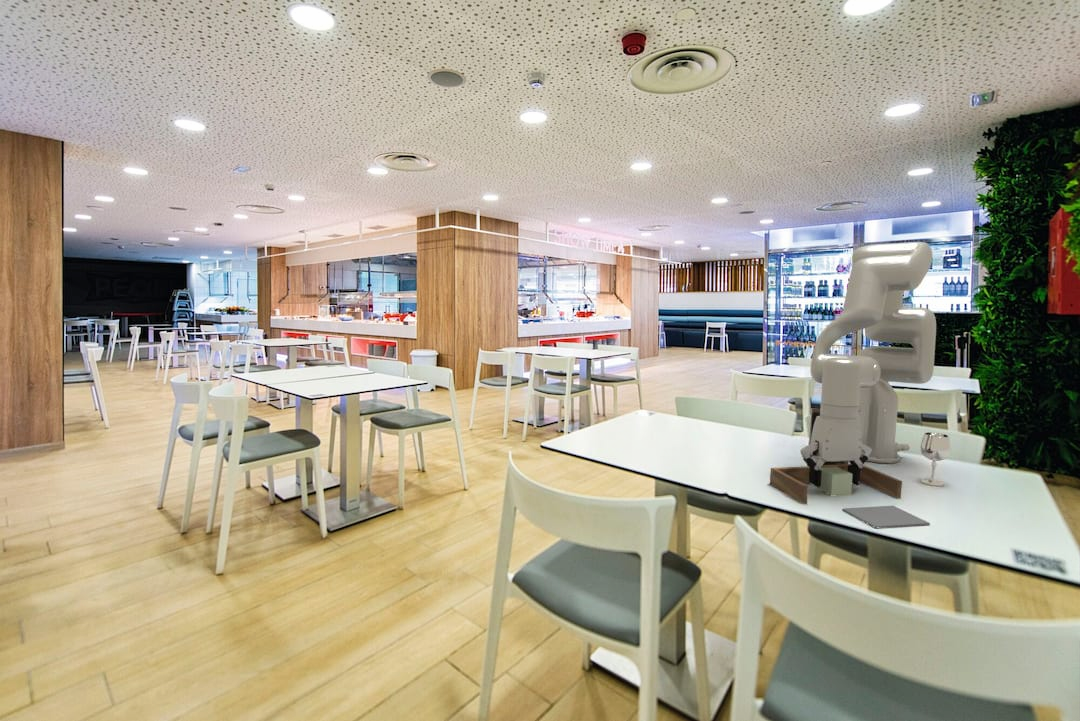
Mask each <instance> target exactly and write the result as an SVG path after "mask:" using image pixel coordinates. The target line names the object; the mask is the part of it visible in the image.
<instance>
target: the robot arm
mask: <svg viewBox="0 0 1080 721" xmlns="http://www.w3.org/2000/svg"><path fill="white" fill-rule="evenodd" d="M932 262H933V250H932V248H931V246H930V244H928V242H924V241H911V242H897V243H896V242H895V243H893V242H892V243H877V244H876V243H875V244H868V245H865V246H864V245H863V246H860V247H857V248H856V249H855V250H854V251H853V252H852V255H851V263H852V268H851V270H850V274H849V279H848V284H847V289H846V293H845V298H844V302H843V306H842V307H843V308H842V313H841V314H840V315H839V316H838V317H836V318H835V319H833V320H832V321H831V322H830V323H828V325H827V326H826V327H825V328H824V329H823V330H822V331H821V332H820V334H819V335H818V337H817V338H816V341H815V344H814V348H813V352H812V357H811V361H810V376H811V378H812V379H813V381H815V382H816V383H818V384H821V394H820V395H821V396H820V408H819V409H820V416H817V417H816V420H815V423H814V426H813V431H812V436H811V443H810V445H809V444H808V445H807V446H805V447H803V448H801V449H800V455H801V457H802V460H803V462H805V464H806V466H809V467H810V470H809V482H810V483H809V484H811V485H813V486H814V487H816V488H817V487H820V486H821V475H822V471H821V470H819V469H820V467H821V466H822V465H823V464H824V463H825V462H839V461H849V464H851V465H848V470H847V472H849V473H852V474H853V475H852V485H854V486H859V485H860V481H859V479H860V468H863V466H864V465H865V463H866V462H872V463H879V464H895V463H899V462H901V455H900V454H898V453H899V452H901V451H902V452H907V451H909V450H911V449H910V445H909V444H908V443H900V444H899V443H898V442H896V434H897V421H898V409H899V397H898V394H897V392H896V390H895V389H894V388H893V386H892V385H891V384H890V383H902V384H903V383H904V384H919V385H920V384H921V385H922V384H926V383H928V382H929V381H931V379H932V377H933V374H934V368H935V367H934V366H935V354H936V353H935V351H936V338H937V337H936V336H937V321H936V320H937V319H936V316H935V313H934V312H933V311H932V309H931V310H930V309H929V308H925V307H905V306H904V305H903V303H904V291H907V292H909V291H913V290H916V289H917V288H919V286H920V285H921V284H922V282H923V281H924V278H925V277H926V275H927V273H929V270H930V268H931V266H932ZM861 330H864V334H865V336H866V338H867V339H868V340H870V341H874V342H880V343H882V342H883V343H895V344H896V343H897V344H898V343H899V344H901V343H902V344H910V345H911V346H912V347H900V346H899V347H897V346H886V345H885V346H884V345H883V346H879V345H877V346H876V345H874V346H873V345H872V346H867V347H865V348H862V349H861V350H860V351H859V352H858V354H857V355H856V354H855V355H853V354H843V353H842V354H841V353H840V354H839V353H830V351H831V348H832V346H833V345H834V344H835V343H836V342H837V341H839V340H840V339H841V338H843V337H845V336H847V335H850V334H852V333H855V332H858V331H861ZM810 455H811V456H813V457H812V458H811V457H810ZM817 460H818V461H817Z"/></svg>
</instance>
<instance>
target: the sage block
mask: <svg viewBox="0 0 1080 721" xmlns="http://www.w3.org/2000/svg"><path fill="white" fill-rule="evenodd" d="M819 470H821V471H822V475H821V486H820V487H816V489H817V488H818V489H817V490H819V489H820V490H819V491H821V490H822V491H821V492H823V491H824V492H823V493H825V492H826V493H825V494H827V493H828V494H827V495H829V496H831V495H832V496H831V497H833V495H837V496H852V489H853V488H852V487H853V484H852V475H853V474H852V473H849V472H847V471H845V470H843V469H840V468H838V467H829V468H820V469H819Z"/></svg>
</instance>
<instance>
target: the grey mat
mask: <svg viewBox="0 0 1080 721" xmlns="http://www.w3.org/2000/svg"><path fill="white" fill-rule="evenodd" d="M841 510H842V511H843V512H844V511H845V513H846V512H847V513H846V514H848V513H849V514H848V515H850V516H852V517H853V516H854V518H855V517H856V518H855V519H857V518H858V519H857V520H859V519H860V520H859V521H861V520H862V521H864V522H865V523H864V522H863V523H864V524H866V523H868V524H869V525H868V524H867V525H868V526H870V525H871V526H874V527H875V528H876V529H878V528H877V527H887V528H886V529H888V528H889V527H890V528H891V527H892V528H904V527H905V528H907V527H920V526H930V525H931V523H930V522H928V521H927V520H924V519H922V518H920V517H918V516H916V515H913V514H911V513H909V512H908V511H905V510H903V509H902V508H899V507H897V506H895V505H881V506H878V505H877V506H862V507H861V506H860V507H845V508H842V509H841ZM862 521H861V522H862ZM871 526H870V527H871ZM875 528H874V529H875ZM890 528H889V529H890ZM892 528H891V529H892Z"/></svg>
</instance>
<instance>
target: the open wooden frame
mask: <svg viewBox="0 0 1080 721" xmlns="http://www.w3.org/2000/svg"><path fill="white" fill-rule="evenodd" d="M848 465H851V464H850V463H848V464H846V465H824V466H821V467H820V468H829V467H838V468H840V469H843V470H845V471H847V470H848ZM863 465H864V466H863V468H860V479H859V483H861V484H865V485H867V486H869V487H871V488H873V489H875V490H877V491H880V492H882V493H884V494H887V495H888V496H890V497H893V498H895V499H901V498H902V487H903V481H902V480H901V479H899V478H895V477H893V476H891V475H888V474H886V473H883V472H881V471H879V470H876V469H873V468H872V467H869V466H867V465H865V464H863ZM809 470H810V467H809V466H807V465H806V466H803V465H801V466H783V467H770V472H769V475H770V476H769V484H770V485H771V486H773V487H774V488H776V489H777V490H779V491H781V492H783V493H784V494H786V495H788V496H789V497H791V498H792V499H794V500H796V501H798V502H799V503H801V504H802V503H805V504H808V491H809V490H808V488H809V486H808V484H811V483H810V482H809Z"/></svg>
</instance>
